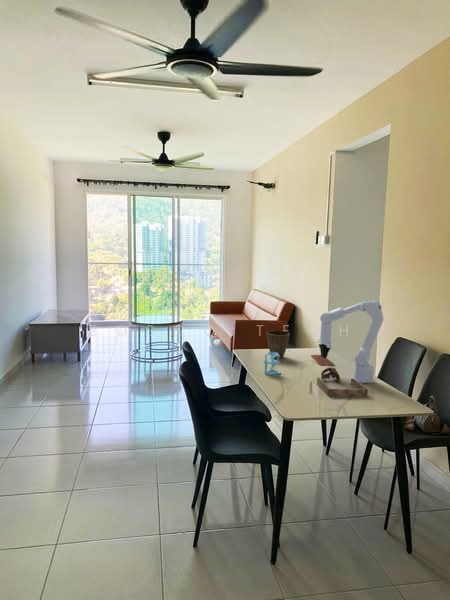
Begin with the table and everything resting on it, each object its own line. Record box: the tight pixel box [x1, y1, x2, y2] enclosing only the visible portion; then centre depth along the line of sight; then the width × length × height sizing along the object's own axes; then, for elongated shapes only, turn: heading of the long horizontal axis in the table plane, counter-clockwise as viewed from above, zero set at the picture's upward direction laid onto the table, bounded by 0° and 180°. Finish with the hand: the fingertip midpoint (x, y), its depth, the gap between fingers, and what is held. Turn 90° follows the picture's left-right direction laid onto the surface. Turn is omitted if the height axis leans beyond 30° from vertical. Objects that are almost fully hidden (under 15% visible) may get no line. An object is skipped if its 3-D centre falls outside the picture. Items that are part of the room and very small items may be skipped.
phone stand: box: [263, 351, 282, 376], centre depth 225 cm, size 8×8×12 cm
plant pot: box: [266, 330, 291, 359], centre depth 260 cm, size 15×15×16 cm
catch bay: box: [316, 377, 369, 398], centre depth 202 cm, size 19×17×4 cm
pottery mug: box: [320, 367, 341, 384], centre depth 217 cm, size 12×10×8 cm
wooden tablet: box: [310, 354, 336, 367], centre depth 258 cm, size 27×10×2 cm, turn 2°
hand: (323, 357), depth 228 cm, fingers closed
